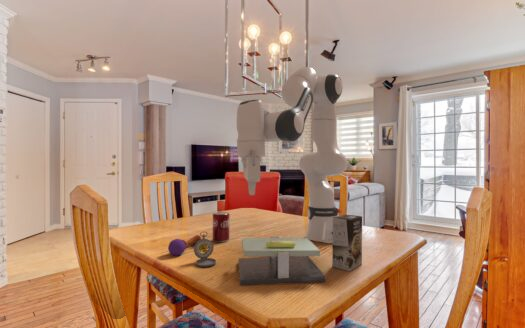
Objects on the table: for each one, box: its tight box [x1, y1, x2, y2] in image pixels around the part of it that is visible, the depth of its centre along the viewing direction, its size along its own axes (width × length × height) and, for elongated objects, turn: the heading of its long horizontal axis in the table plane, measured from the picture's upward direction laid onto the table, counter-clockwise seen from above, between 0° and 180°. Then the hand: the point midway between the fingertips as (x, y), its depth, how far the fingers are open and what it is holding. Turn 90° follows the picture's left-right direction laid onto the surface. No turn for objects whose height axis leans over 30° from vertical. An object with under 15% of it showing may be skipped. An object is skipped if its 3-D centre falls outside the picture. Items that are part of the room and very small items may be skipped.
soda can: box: [212, 211, 231, 243], centre depth 123 cm, size 7×7×12 cm
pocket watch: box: [193, 231, 217, 268], centre depth 95 cm, size 8×8×10 cm
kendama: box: [167, 234, 202, 257], centre depth 110 cm, size 6×6×20 cm
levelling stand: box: [238, 236, 326, 286], centre depth 87 cm, size 24×18×8 cm
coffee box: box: [331, 214, 363, 272], centre depth 93 cm, size 9×6×16 cm
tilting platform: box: [241, 237, 321, 257], centre depth 87 cm, size 22×14×4 cm, turn 96°
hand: (251, 194), depth 90 cm, fingers closed
